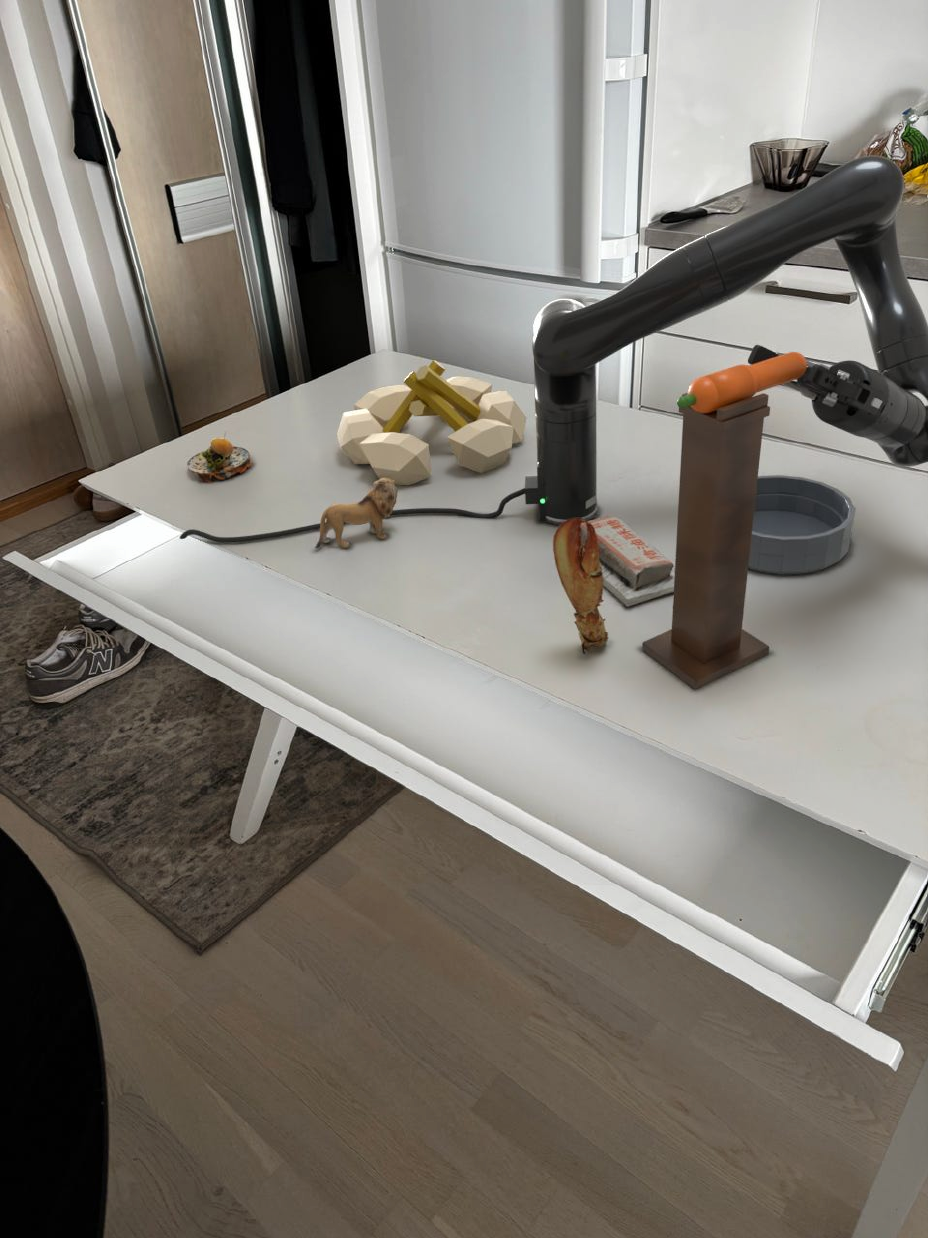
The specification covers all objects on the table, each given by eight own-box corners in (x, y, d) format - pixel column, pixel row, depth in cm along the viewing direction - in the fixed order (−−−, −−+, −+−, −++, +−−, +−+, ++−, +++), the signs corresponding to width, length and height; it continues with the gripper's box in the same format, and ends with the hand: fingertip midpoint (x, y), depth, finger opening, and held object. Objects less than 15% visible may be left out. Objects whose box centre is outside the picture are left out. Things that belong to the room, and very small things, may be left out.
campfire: (355, 501, 162) (339, 407, 153) (331, 428, 190) (317, 344, 180) (549, 465, 168) (546, 372, 158) (499, 399, 195) (493, 316, 186)
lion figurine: (395, 519, 156) (388, 469, 151) (407, 532, 152) (401, 482, 147) (310, 544, 151) (300, 494, 146) (321, 559, 147) (311, 507, 142)
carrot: (689, 426, 98) (691, 391, 95) (665, 415, 100) (666, 381, 98) (813, 383, 104) (817, 349, 102) (787, 374, 107) (791, 341, 105)
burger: (217, 450, 185) (208, 414, 181) (264, 459, 180) (256, 422, 176) (175, 477, 177) (164, 439, 172) (224, 486, 172) (214, 448, 167)
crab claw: (552, 648, 123) (547, 512, 112) (576, 630, 126) (573, 495, 115) (596, 667, 119) (595, 528, 108) (619, 648, 122) (621, 510, 111)
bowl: (719, 578, 134) (723, 541, 130) (702, 511, 150) (704, 477, 146) (864, 574, 131) (871, 537, 128) (830, 507, 148) (836, 472, 144)
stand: (695, 689, 114) (714, 423, 95) (641, 649, 121) (650, 395, 102) (768, 654, 119) (801, 393, 99) (713, 617, 126) (733, 368, 107)
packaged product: (564, 523, 140) (622, 506, 143) (564, 551, 143) (622, 534, 146) (627, 579, 126) (690, 560, 129) (626, 609, 129) (688, 589, 132)
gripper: (828, 356, 117) (749, 315, 107) (927, 388, 107) (850, 346, 97) (799, 413, 119) (720, 378, 109) (894, 450, 109) (816, 415, 99)
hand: (781, 363), depth 103 cm, fingers open, 8 cm apart
